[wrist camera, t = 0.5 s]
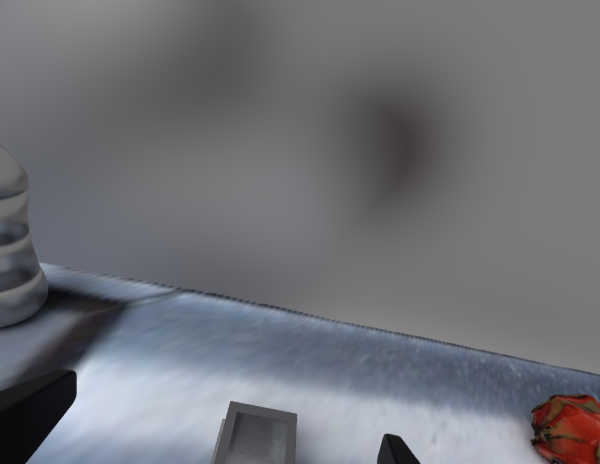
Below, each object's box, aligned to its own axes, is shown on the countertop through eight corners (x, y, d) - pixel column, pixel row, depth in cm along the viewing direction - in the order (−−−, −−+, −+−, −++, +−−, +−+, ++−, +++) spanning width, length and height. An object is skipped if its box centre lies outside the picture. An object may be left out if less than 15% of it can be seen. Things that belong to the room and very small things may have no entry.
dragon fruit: (620, 489, 30) (509, 476, 30) (588, 397, 34) (490, 386, 34) (732, 523, 23) (583, 507, 23) (674, 401, 27) (549, 386, 27)
